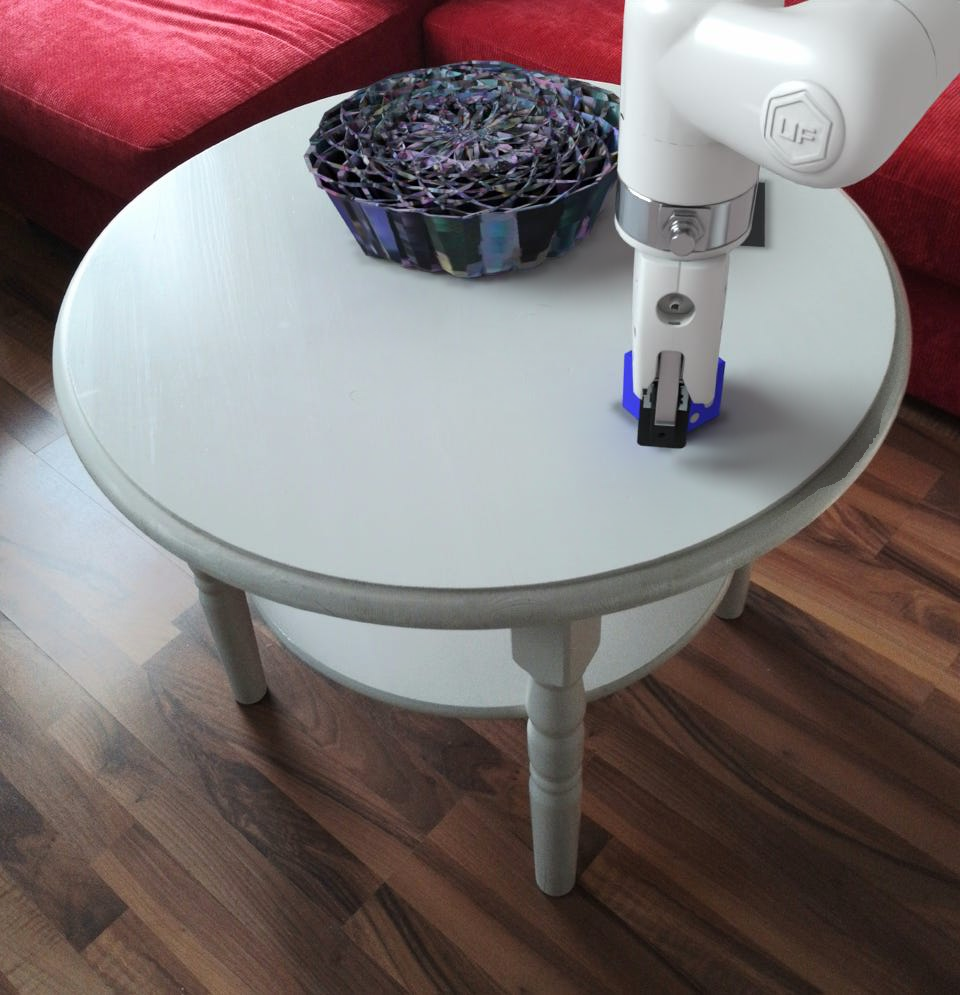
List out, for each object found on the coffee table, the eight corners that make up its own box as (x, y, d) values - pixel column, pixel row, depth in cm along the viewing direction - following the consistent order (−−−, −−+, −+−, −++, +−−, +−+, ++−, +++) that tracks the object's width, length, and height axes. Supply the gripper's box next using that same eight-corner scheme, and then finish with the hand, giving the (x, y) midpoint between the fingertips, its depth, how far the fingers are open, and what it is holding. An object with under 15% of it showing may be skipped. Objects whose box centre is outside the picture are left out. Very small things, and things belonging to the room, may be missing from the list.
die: (621, 406, 79) (622, 352, 76) (674, 379, 81) (679, 325, 77) (665, 445, 76) (669, 391, 73) (720, 415, 78) (727, 361, 74)
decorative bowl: (404, 144, 111) (384, 47, 104) (671, 159, 101) (669, 53, 95) (285, 290, 95) (252, 187, 88) (589, 324, 86) (579, 212, 79)
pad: (764, 183, 99) (764, 182, 98) (764, 247, 92) (764, 246, 92) (652, 179, 100) (652, 178, 100) (643, 242, 94) (643, 241, 93)
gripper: (756, 284, 54) (717, 527, 68) (753, 131, 64) (719, 369, 78) (604, 277, 56) (595, 517, 69) (625, 127, 65) (613, 363, 79)
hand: (661, 438), depth 73 cm, fingers closed
